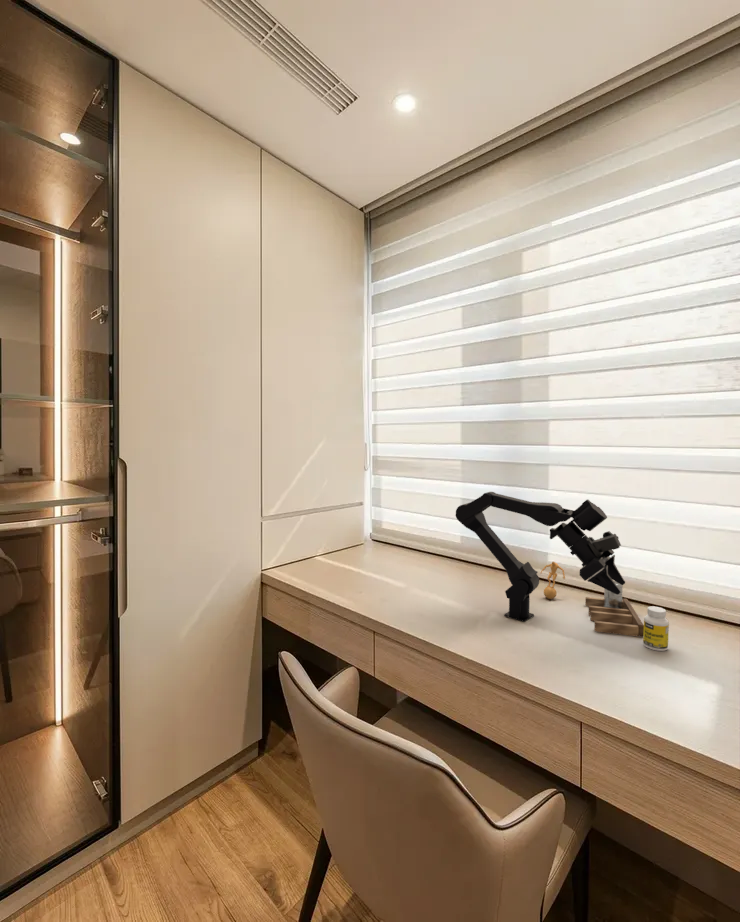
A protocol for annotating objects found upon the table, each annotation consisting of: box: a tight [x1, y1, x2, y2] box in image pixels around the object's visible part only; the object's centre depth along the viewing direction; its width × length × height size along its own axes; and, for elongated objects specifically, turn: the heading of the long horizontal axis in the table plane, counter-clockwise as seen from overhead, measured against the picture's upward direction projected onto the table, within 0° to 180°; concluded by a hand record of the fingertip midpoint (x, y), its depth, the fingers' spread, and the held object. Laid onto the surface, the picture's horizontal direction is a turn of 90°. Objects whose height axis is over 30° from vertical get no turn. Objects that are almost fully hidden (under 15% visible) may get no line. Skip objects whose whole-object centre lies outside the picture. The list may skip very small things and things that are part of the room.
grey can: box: [603, 580, 624, 609], centre depth 141 cm, size 5×5×9 cm
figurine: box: [540, 561, 566, 600], centre depth 153 cm, size 8×6×12 cm
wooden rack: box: [585, 596, 644, 638], centre depth 135 cm, size 12×21×3 cm, turn 162°
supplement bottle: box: [642, 605, 670, 652], centre depth 118 cm, size 5×5×10 cm
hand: (621, 588), depth 122 cm, fingers open, 9 cm apart
